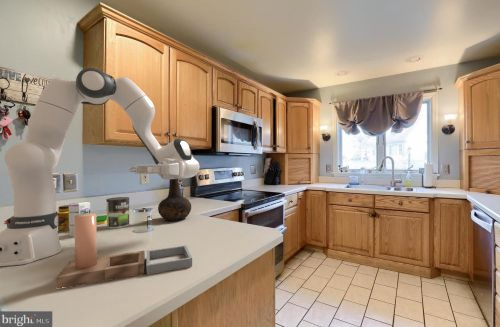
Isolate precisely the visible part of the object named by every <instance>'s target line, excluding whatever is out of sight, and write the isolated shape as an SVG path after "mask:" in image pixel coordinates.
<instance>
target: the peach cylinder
mask: <svg viewBox="0 0 500 327" xmlns="http://www.w3.org/2000/svg"><path fill="white" fill-rule="evenodd" d="M96 217H97V213H95V212H94V213H92V212H90V213H87V214H80V215H76V216H74V221H75V237H74V261H75V268H76V269H86V268H90V267H93V266H95V265H96V264H97V257H98V252H97V251H98V248H97V245H98V244H97V239H98V238H97V224H96Z"/></svg>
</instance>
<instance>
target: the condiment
mask: <svg viewBox="0 0 500 327" xmlns="http://www.w3.org/2000/svg"><path fill="white" fill-rule="evenodd" d="M57 213H58V227H57V231H58V234H59V233H60V234H61V233H70V231H69V204H67V205H66V204H65V205H59V207H58V211H57Z"/></svg>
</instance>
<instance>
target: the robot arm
mask: <svg viewBox="0 0 500 327" xmlns="http://www.w3.org/2000/svg"><path fill="white" fill-rule="evenodd" d="M109 100H111V101H112V102H115V103H116V104H118V105H119V106H120V108H121V109H122V110H123V111H124V112H125V113H126V115H127V116H128V117H129V120H130V121H131V124H132V125H131V126H132V129H133V131H134V133H135V134H136V135H137V137H138V139H139V140H140V141H141V143H142V145H143V146H144V147H145V149H146V150H147V151H148V153H149V154H150V156H151V157H152V160H153V162H154V163H155V164H135V165H134V166H131V167H129V172H130V173H134V174H137V175H158V176H159V177H160V178H161V179H162V180H165V181H166V180H167V181H168V180H169V181H170V179H177V178H178V179H181V180H182V179H190V178H193V177H195V176H197V174H198V173H199V171H200V168H201V167H200V163H199V161H198V160H197V159H195V157H194V156H193V154H192V149H191V146H190V144H189V143H188V142H187V141H186V140H184V139H182V138H179V137H178V138H174V139H173V140H171V141H170V142H169V143H168V144H165V145H164V146H162V145H161V144H160V143H159V141H158V140H157V139H156V137H155V135H154V134H153V133H152V129H151V127H152V123H153V120H154V118H155V114H156V109H155V108H156V107H155V105H154V103H153V101H152V99H150V98H149V97H148V95H147V94H146V93H145V92H144V91H143V90H142V89H141V88H140V87H139V86H138V85H137V84H136V83H135V82H134V81H133V80H131V78H129V77H126V76H120V77H117V78H116V79H115V78H114V77H113V76H112V75H110V74H107V73H106V72H103V70H100V69H97V68H94V67H86V68H83V69H82V70H80V71H79V72H78V73H77V75H76V77H75V80H74V81H73V80H69V79H66V78H62V77H55V78H52V79H51V80H49V81H48V83H47V84H46V85H45V87H44V89H43V90H42V91H41V93H40V95H39V97H38V99H37V101H36V102H35V105H34V108H33V110H32V111H31V112H32V113H31V115H30V117H29V118H28V121H27V132H26V135H25V136H26V137H25V141H21V142H18V143H16V144H13V145H12V146H10V147H9V148H7V150H6V151H5V153H4V163H5V165H6V166H7V170H8V171H7V172H8V175H9V180H10V184H11V189H12V196H13V198H12V199H13V215H12V216H10V217H9V218H7V219H6V220H3V222H4V223H3V225H6V228H5V229H3V230H2V231H1V232H0V267H7V266H18V265H19V266H20V265H26V264H30V263H33V262H35V261H38V260H41V259H45V258H48V257H52V256H54V255H56V254H59V253H60V252H62V251H63V247H62V245H61V242H60V237H59V233H58V211H57V196H56V195H57V190H56V187H55V182H54V181H55V180H54V176H53V170H54V169H55V168H56V167H57V166H58V163H59V161H60V158H61V155H62V151H63V148H64V145H65V140H66V137H67V134H68V131H69V129H70V127H71V124H72V122H73V119H74V116H75V115H76V112H77V109H78V107H79V105H80V104H82V105H83V104H84V105H90V106H102V105H105V104H106V103H107V102H108V101H109Z"/></svg>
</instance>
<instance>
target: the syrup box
mask: <svg viewBox="0 0 500 327" xmlns="http://www.w3.org/2000/svg"><path fill="white" fill-rule="evenodd" d="M68 205H69V231H70V232H69V237H74V238H75V221H74V216H76V215H80V214H87V213H91V202H90V201H79V202H72V203H69V204H68Z"/></svg>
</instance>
